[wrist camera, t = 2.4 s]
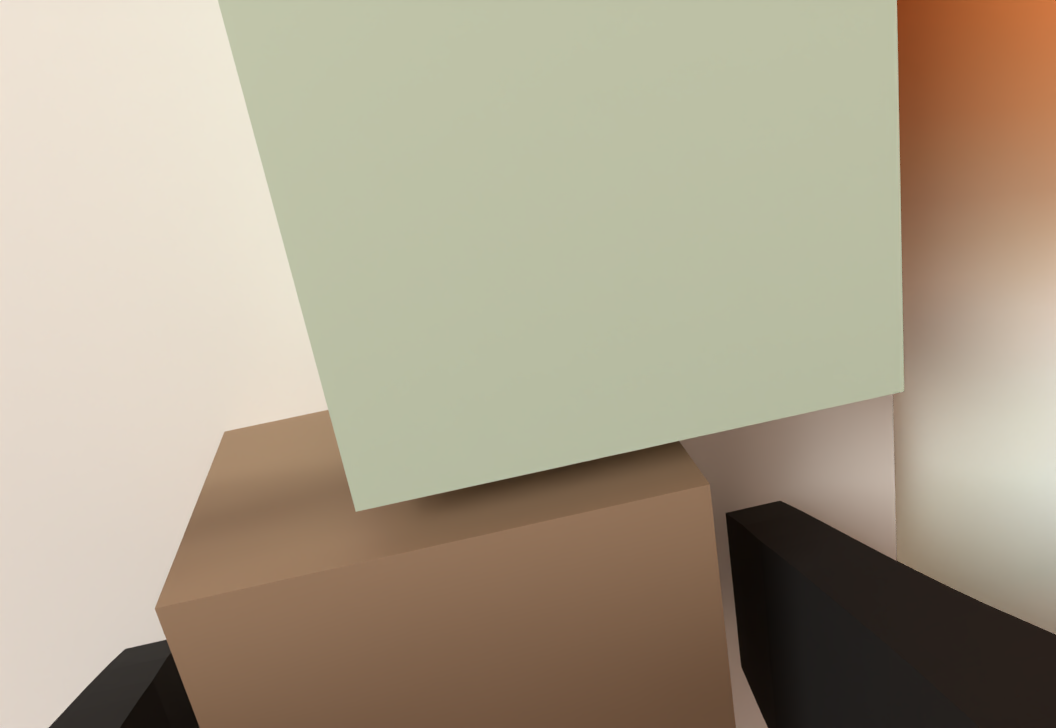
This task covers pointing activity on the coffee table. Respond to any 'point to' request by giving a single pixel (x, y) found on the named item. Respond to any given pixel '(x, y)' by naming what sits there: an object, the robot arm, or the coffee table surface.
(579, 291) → the sage brick
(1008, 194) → the coffee table surface
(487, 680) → the walnut brick
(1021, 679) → the robot arm
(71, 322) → the board
